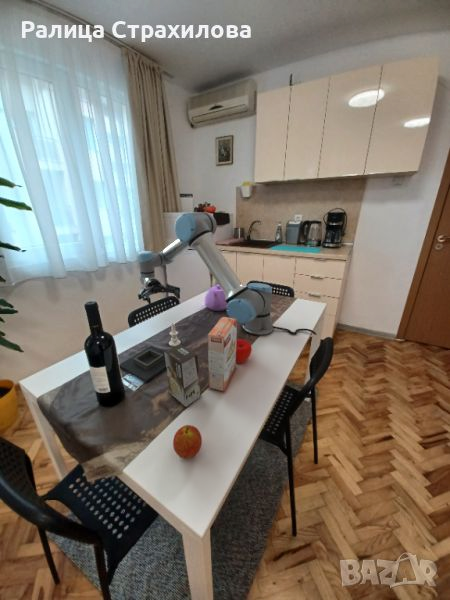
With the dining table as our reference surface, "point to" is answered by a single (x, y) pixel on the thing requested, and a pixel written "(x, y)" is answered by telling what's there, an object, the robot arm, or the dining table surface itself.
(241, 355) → the apple
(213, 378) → the cracker box
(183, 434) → the fruit
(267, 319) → the robot arm
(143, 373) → the socket pad
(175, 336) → the white tall tiered piece
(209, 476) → the dining table surface
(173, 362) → the coffee box
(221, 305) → the teapot
